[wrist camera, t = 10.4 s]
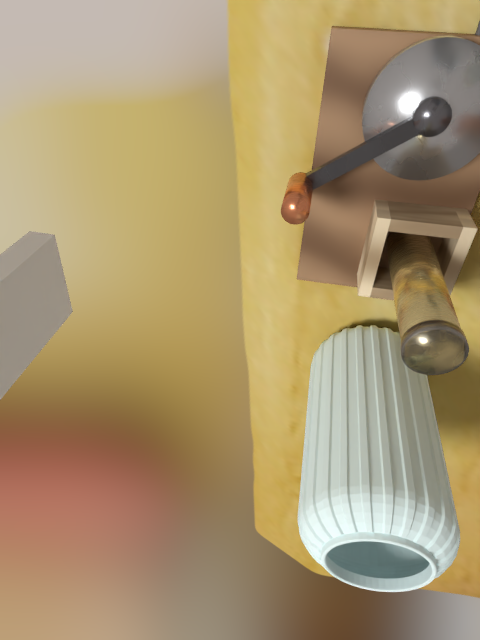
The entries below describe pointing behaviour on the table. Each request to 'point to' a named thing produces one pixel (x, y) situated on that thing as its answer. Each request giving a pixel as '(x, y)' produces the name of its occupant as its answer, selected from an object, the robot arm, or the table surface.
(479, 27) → the mat
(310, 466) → the vase
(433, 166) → the handwheel
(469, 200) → the mount board
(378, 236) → the square socket
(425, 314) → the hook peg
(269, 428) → the table surface
